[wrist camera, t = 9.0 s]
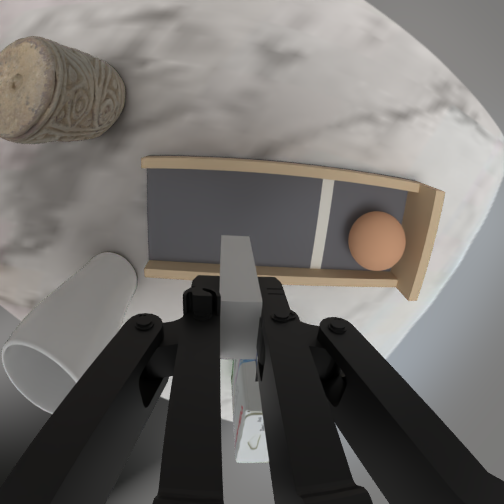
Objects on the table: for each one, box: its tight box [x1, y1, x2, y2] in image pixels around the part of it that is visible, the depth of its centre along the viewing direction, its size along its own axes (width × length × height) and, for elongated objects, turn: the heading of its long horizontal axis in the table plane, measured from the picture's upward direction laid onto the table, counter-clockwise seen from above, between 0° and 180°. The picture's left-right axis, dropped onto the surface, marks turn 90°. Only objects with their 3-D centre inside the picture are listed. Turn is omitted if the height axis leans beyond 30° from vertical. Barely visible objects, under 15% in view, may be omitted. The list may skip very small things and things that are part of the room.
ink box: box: [231, 354, 269, 463], centre depth 26 cm, size 9×5×12 cm, turn 173°
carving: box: [0, 36, 125, 144], centre depth 16 cm, size 6×8×12 cm
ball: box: [348, 211, 406, 271], centre depth 24 cm, size 5×5×5 cm
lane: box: [141, 155, 445, 301], centre depth 24 cm, size 24×10×5 cm, turn 86°
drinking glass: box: [1, 252, 137, 414], centre depth 21 cm, size 7×7×15 cm
